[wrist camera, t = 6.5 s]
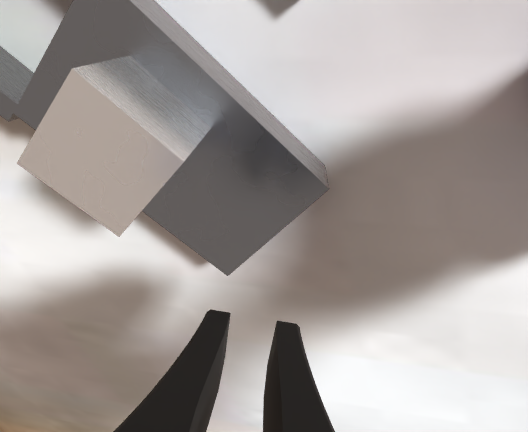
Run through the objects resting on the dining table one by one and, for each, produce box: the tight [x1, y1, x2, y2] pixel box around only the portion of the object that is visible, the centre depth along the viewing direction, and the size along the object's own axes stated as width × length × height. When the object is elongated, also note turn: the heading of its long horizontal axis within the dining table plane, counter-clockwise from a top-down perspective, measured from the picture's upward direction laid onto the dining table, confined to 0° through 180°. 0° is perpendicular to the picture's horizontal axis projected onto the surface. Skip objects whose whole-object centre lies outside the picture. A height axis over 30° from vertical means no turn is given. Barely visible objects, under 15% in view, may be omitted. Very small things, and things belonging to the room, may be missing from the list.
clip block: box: [17, 56, 211, 237], centre depth 13 cm, size 4×4×4 cm
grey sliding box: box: [0, 0, 329, 276], centre depth 15 cm, size 20×8×3 cm, turn 47°
